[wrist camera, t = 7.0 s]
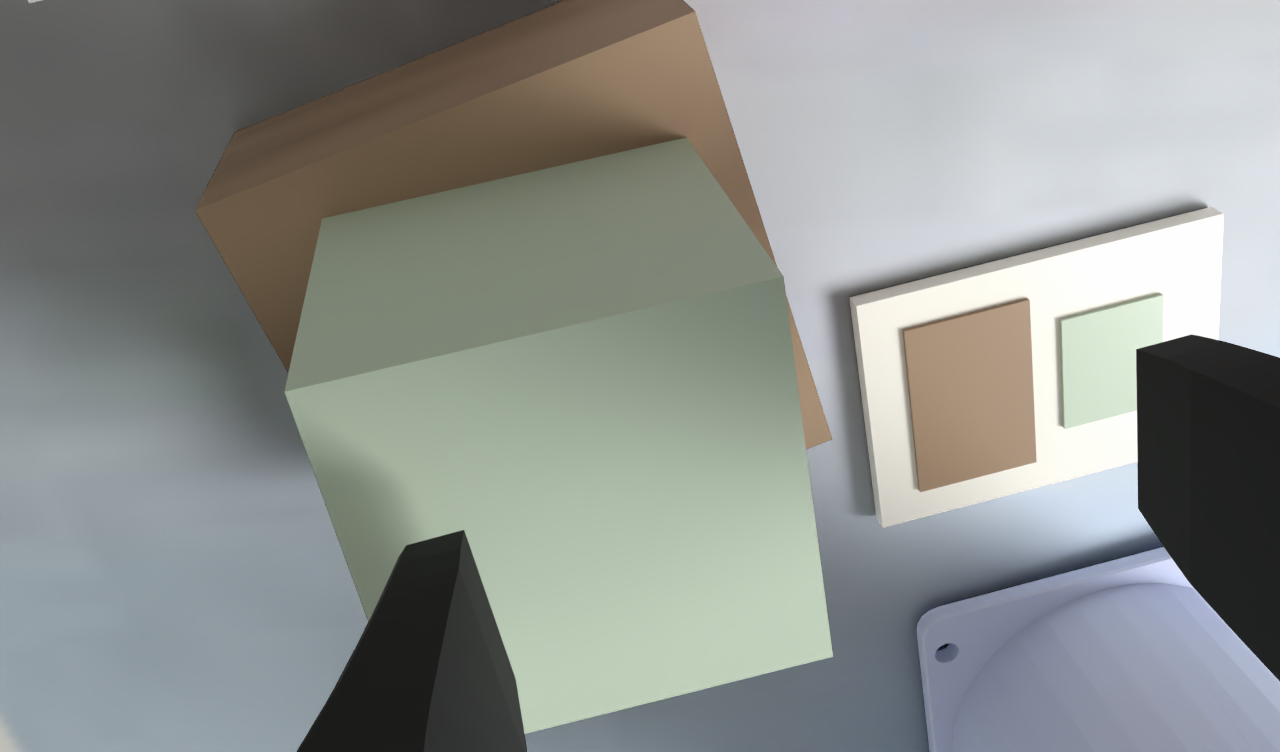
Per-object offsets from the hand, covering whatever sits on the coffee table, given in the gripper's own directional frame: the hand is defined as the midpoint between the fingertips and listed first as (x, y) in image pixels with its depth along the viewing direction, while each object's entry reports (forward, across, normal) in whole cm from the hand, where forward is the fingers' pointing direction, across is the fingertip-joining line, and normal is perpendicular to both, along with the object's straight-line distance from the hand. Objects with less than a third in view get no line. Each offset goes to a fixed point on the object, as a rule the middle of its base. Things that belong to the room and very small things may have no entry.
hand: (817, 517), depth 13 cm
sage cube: (+6, +2, 0) cm, 6 cm away
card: (+9, -6, +5) cm, 12 cm away
